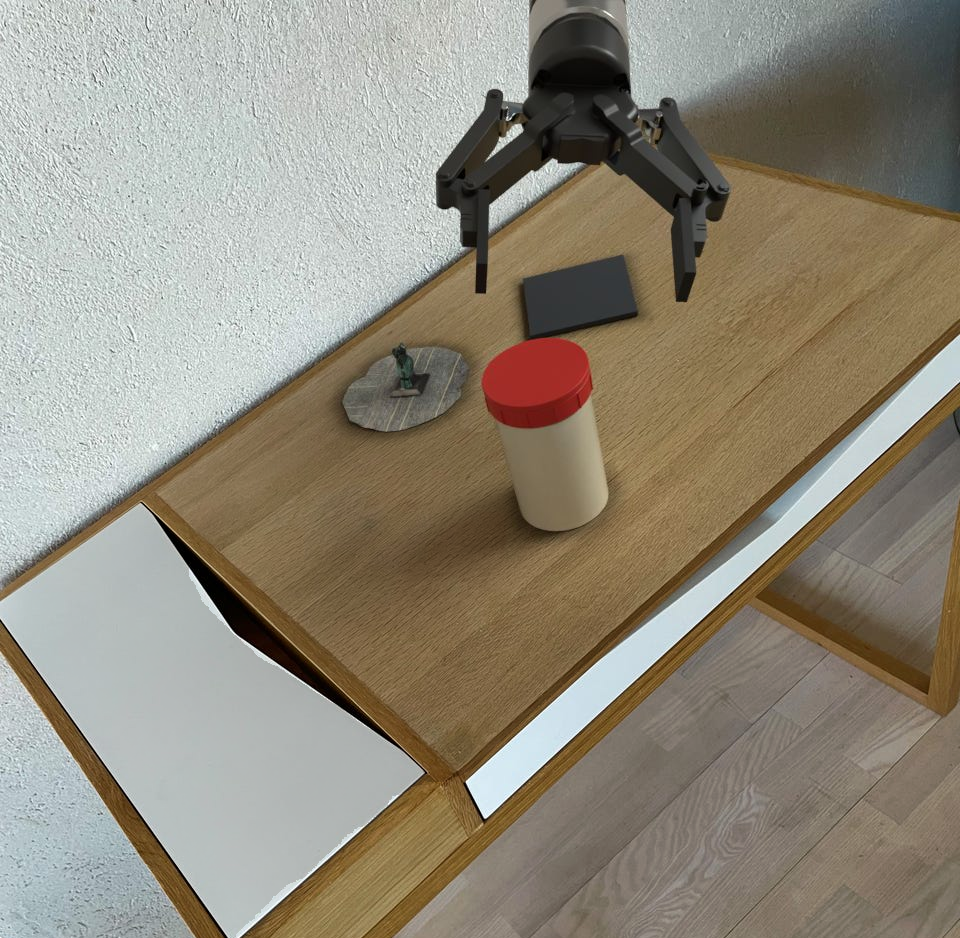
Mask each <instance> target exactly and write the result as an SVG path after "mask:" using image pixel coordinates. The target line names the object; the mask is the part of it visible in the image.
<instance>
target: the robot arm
mask: <svg viewBox="0 0 960 938" xmlns="http://www.w3.org/2000/svg"><path fill="white" fill-rule="evenodd" d="M528 6H529V7H528V9H529V10H528V11H529V12H528V13H529V14H528V52H527V53H528V67H527V70H528V71H527V75H528V76H527V91H528V92H527V97H526V98H525V100H524V101H523V102H516V101H507V100H504V92H503V91H502V90H501V89H499V88H491V89H489V90H488V91H487V92H486V94H485V100H484V106H483V110H482V112H481V113H480V114H479V116H478V117H477V118H476V119H475V120H474V121H473V123H472V125H470V127H469V128H468V129H467V131H466V132H465V133H464V135H463V136H462V138H461V139H460V140H459V141H458V143H457V144H456V146H455V147H454V148H453V150H451V152H450V154H449V155H448V156H447V157H446V159H445V160H444V161H443V162H442V164H441V165H440V166H439V167H438V169H437V170H436V172H435V205H436V207H437V208H438V209H440V210H443V211H444V210H445V211H446V210H450V209H451V208H454V209H456V210H457V211H458V212H459V213H460V216H459V217H460V219H459V243H460V245H461V247H462V248H474V249H476V250H475V251H476V252H475V255H476V256H475V281H474V283H475V285H474V286H475V288H474V294H476V295H477V294H478V295H487V287H488V286H487V285H488V269H489V267H488V266H489V230H490V205H492V204H493V203H495V201H496V200H498V199H499V198H500V197H501V196H503V195H504V194H505V193H506V192H508V191H509V190H510V189H511V188H512V187H513V186H514V185H516V184H517V183H519V182H520V181H521V180H522V179H524V178H525V176H527V175H528V174H529V173H531V172H534V173H537V172H538V171H539V170H541V169H542V168H544V167H545V165H547V164H548V163H549V162H550V161H552V160H555V161H557V162H556V163H557V164H559V165H560V164H561V165H569V164H576V163H580V164H584V165H587V166H601V163H604V164H605V165H606V166H607V167H608V168H609V169H611V170H612V171H613V172H614V173H615V174H616V175H618V176H620V177H621V176H624V175H625V176H626V177H627V178H629V179H630V180H631V181H632V182H633V183H634V184H636V185H637V187H638V188H640V189H641V190H642V191H643V192H644V193H645V194H647V195H648V196H649V197H650V198H651V199H653V200H654V202H656V203H657V204H658V205H659V206H660V207H661V208H663V209H664V210H665V211H666V212H667V213H668V214H670V216H672V217H673V218H672V219H673V220H672V223H671V225H670V238H671V239H670V240H671V253H672V268H673V269H672V270H673V282H674V283H673V284H674V296H675V302H676V303H688V300H689V297H690V294H691V291H692V288H693V284H694V281H695V279H696V275H697V264H696V263H697V262H696V258H699V259H700V258H701V257H702V254H703V251H704V248H705V246H706V243H707V239H708V226H707V220H708V221H710V222H713V223H716V222H719V221H721V220H722V218H723V215H724V212H725V210H726V206H727V203H728V201H729V198H730V194H731V191H732V186H731V184H730V183H729V182H728V180H727V179H726V177H725V176H724V175H723V173H722V172H721V171H720V169H719V168H718V166H716V165H715V163H714V161H713V160H712V159H711V158H710V156H709V155H708V153H706V151H705V150H704V148H703V147H702V146H701V144H700V143H699V142H698V141H697V139H696V138H695V137H694V135H693V134H692V132H691V131H690V130H689V129H688V127H687V126H686V124H685V123H684V122H683V120H681V116H680V115H681V114H680V111H679V107H678V103H677V101H676V99H674V98H673V97H668V96H666V97H663V98H661V99H660V101H659V105H658V108H639V106H638V105H637V104H636V102H635V101H634V99H633V97H632V83H631V80H632V79H631V64H630V56H629V54H630V47H629V32H628V31H629V29H628V15H627V14H628V13H627V5H626V0H528ZM515 125H520V126H521V128H522V132H521V133H519V134H518V135H517V136H515V137H514V138H513V139H512V140H510V141H509V142H508V143H507V144H506V145H504V146H503V147H502V148H500V149H499V150H498V151H496V152H495V153H494V154H493V155H492V156H491V154H492V153H493V152H494V150H495V149H496V147H497V145H498V143H499V140H500V138H501V139H504V138H506V137H507V135H508V132H510V131H511V129H512V127H514V126H515ZM643 132H644V133H645V134H646V136H647V137H648V138H649V140H647V139H645V138H644V136H643ZM655 146H656V147H655ZM490 156H491V157H490Z"/></svg>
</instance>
